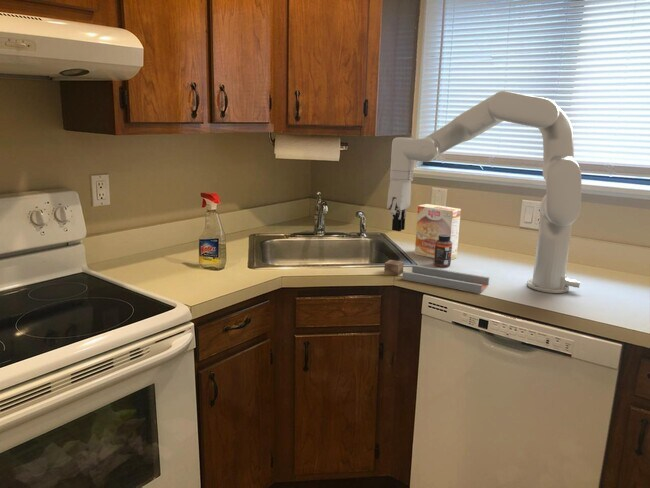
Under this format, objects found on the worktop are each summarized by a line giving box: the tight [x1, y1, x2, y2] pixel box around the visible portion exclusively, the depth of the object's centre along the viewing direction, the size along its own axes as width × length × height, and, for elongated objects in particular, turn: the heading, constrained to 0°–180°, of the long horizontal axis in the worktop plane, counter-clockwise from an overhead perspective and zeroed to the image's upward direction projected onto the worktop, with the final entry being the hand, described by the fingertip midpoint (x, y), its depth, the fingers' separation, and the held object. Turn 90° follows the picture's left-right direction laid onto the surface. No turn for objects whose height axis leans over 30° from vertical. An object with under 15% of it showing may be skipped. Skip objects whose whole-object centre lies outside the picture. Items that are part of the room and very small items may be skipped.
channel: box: [401, 264, 490, 294], centre depth 178 cm, size 26×10×2 cm, turn 61°
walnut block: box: [383, 259, 405, 277], centre depth 186 cm, size 5×5×4 cm
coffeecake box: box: [414, 203, 462, 261], centre depth 207 cm, size 15×7×20 cm, turn 49°
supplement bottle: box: [433, 234, 452, 268], centre depth 196 cm, size 6×6×11 cm
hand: (398, 229), depth 182 cm, fingers closed
